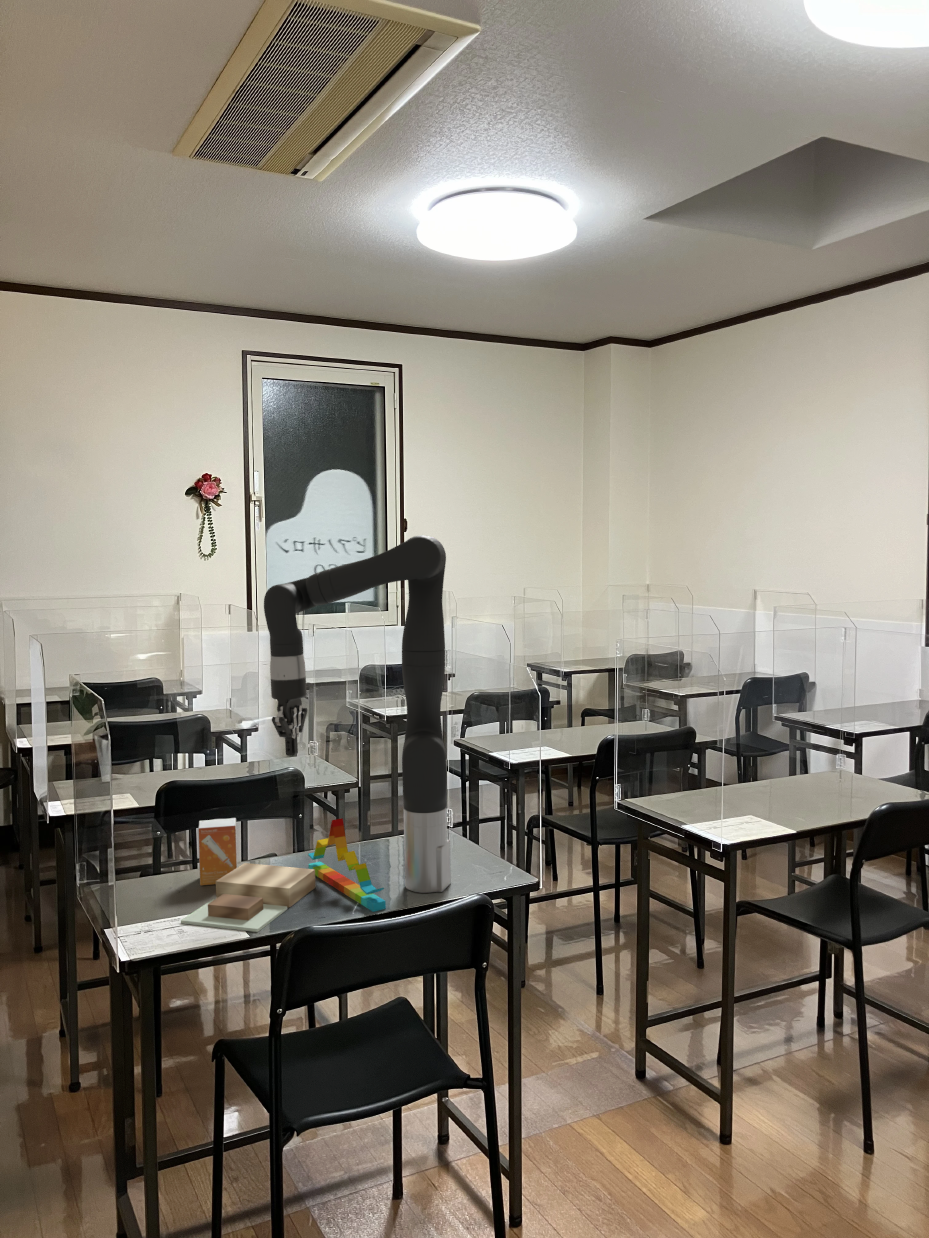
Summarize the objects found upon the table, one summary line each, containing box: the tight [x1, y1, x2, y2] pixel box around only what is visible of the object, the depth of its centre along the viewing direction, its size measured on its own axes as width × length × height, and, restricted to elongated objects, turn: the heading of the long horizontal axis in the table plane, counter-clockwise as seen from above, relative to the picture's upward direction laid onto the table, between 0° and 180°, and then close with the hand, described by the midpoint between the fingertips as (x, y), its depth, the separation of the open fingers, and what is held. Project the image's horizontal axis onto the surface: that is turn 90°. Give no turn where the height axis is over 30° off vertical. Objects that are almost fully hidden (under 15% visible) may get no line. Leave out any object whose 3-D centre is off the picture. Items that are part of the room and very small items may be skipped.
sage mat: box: [180, 898, 288, 933], centre depth 197 cm, size 17×12×1 cm
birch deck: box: [215, 862, 316, 908], centre depth 209 cm, size 17×12×4 cm
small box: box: [198, 817, 238, 886], centre depth 218 cm, size 8×6×13 cm
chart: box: [307, 818, 387, 913], centre depth 211 cm, size 30×3×15 cm, turn 34°
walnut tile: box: [208, 894, 263, 921], centre depth 197 cm, size 9×6×2 cm, turn 73°
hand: (292, 754), depth 214 cm, fingers closed
